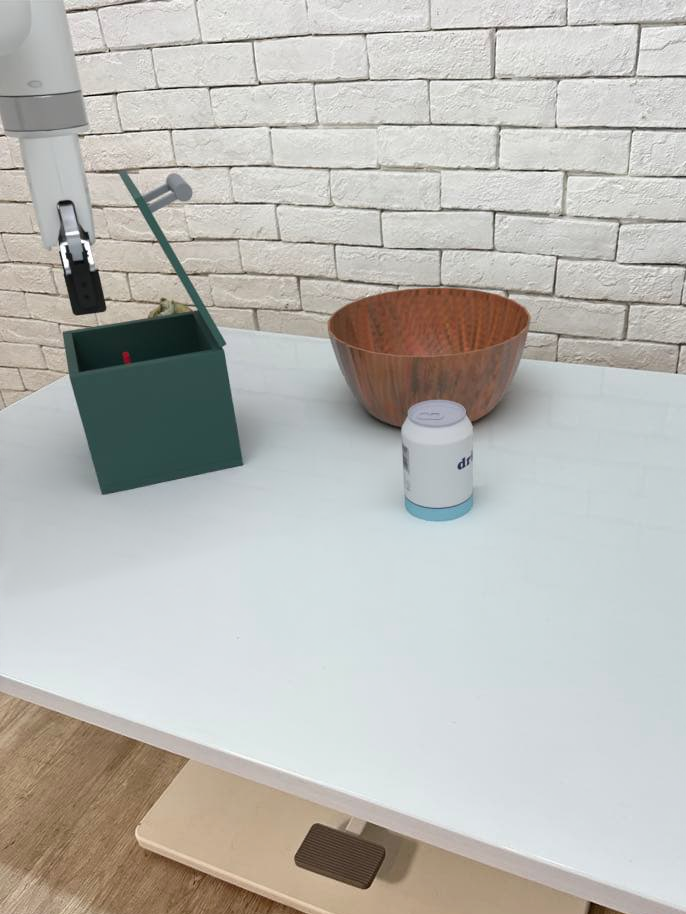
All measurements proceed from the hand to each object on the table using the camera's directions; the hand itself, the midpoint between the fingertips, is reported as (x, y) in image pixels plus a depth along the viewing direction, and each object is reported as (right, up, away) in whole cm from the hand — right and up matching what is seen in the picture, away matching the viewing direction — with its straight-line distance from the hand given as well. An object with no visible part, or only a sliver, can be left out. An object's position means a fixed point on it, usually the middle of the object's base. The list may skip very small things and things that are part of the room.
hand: (86, 299), depth 88 cm
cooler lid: (+7, +5, +4) cm, 10 cm away
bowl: (+36, -7, +23) cm, 44 cm away
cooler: (+4, -14, +15) cm, 21 cm away
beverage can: (+36, -23, 0) cm, 43 cm away
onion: (-3, +5, +45) cm, 46 cm away
